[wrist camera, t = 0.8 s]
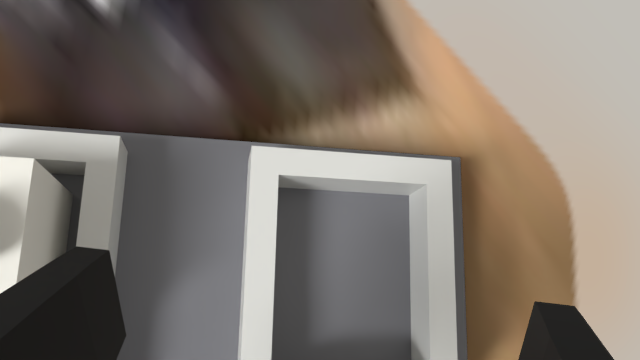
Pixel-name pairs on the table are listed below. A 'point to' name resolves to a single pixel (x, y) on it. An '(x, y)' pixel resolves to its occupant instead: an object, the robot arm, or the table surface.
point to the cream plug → (30, 218)
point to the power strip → (265, 244)
